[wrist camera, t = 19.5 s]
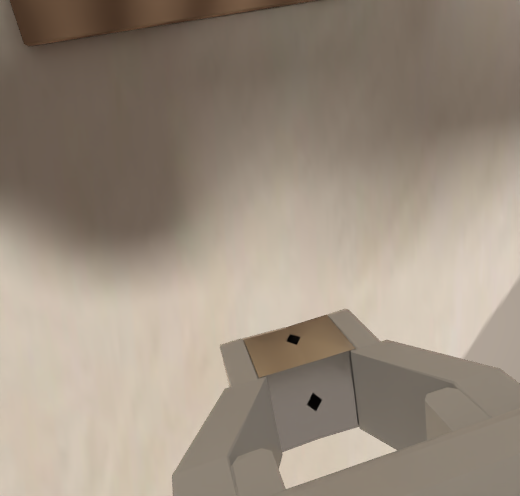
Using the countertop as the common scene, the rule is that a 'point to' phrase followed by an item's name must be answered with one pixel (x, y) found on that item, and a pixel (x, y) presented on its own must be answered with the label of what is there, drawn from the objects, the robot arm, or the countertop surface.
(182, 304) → the countertop surface
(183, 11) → the walnut floorboard
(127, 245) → the countertop surface
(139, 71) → the countertop surface
